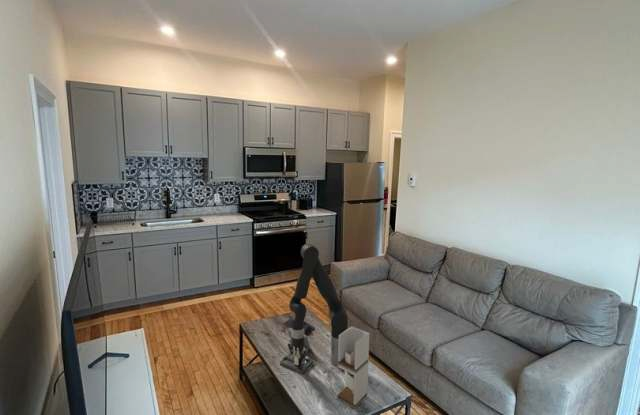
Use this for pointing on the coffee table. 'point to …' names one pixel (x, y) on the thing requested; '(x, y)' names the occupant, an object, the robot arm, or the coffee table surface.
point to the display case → (354, 365)
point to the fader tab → (296, 359)
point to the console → (301, 368)
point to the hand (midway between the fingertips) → (297, 361)
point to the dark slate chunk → (307, 327)
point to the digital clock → (306, 342)
